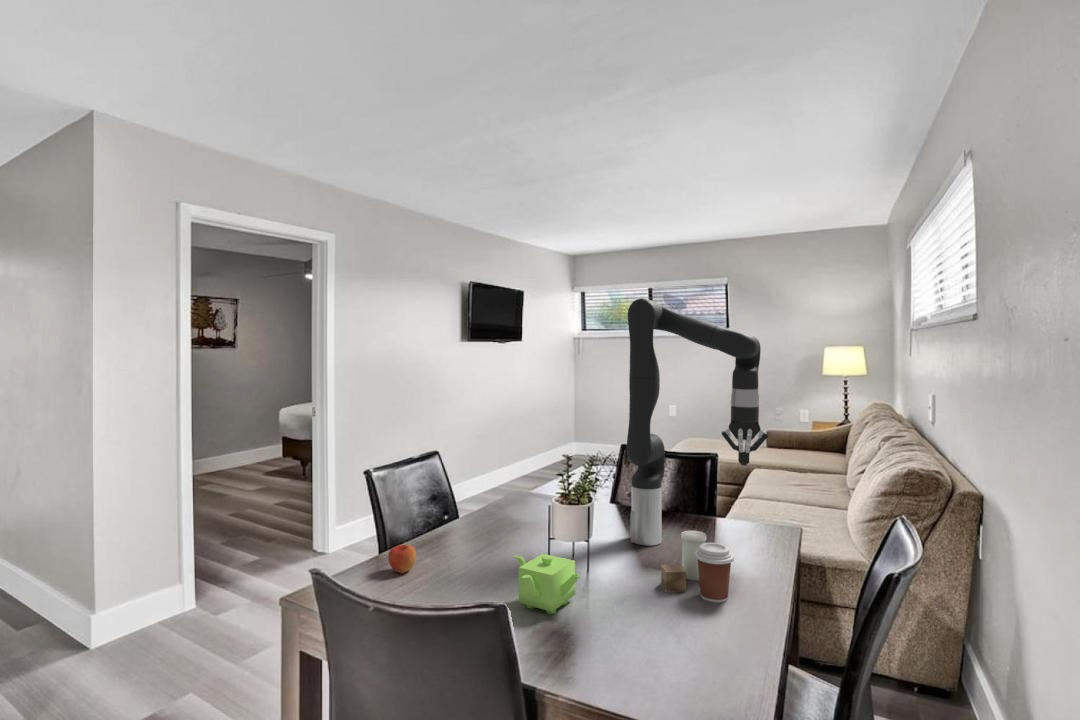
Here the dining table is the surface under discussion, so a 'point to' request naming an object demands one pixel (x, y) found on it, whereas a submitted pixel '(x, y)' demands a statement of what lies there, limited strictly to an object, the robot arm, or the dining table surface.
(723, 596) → the coffee cup
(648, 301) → the robot arm
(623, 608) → the dining table surface
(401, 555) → the apple
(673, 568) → the walnut block
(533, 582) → the kettle
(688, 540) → the canister
